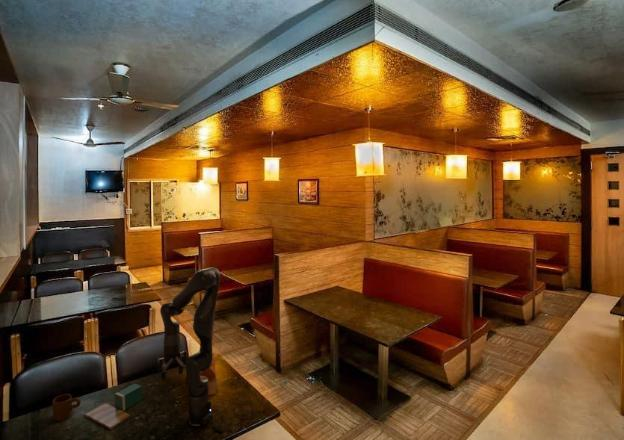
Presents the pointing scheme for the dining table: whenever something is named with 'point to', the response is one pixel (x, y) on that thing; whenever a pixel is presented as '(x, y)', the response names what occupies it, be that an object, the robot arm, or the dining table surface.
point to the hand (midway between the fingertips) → (172, 376)
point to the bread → (211, 376)
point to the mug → (64, 406)
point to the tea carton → (128, 397)
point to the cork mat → (107, 415)
